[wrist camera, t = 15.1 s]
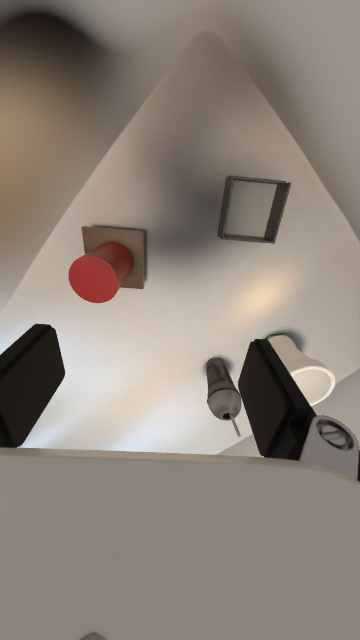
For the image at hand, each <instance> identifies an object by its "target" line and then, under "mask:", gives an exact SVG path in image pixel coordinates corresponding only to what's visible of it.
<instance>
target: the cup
mask: <svg viewBox="0 0 360 640" xmlns="http://www.w3.org/2000/svg"><path fill="white" fill-rule="evenodd" d="M267 340H268V341H269V342H270V343H271V345H272V347H273V348H274V350H275V351H276V353H277V354H278V356H279V357H280V359H281V361H282V362H283V364H284V365H285V367H286V368H287V370H288V371H289V373H290V374H291V376H292V378H293V379H294V381H295V382H296V384H297V385H298V387H299V388H300V390H301V392H302V393H303V395H304V396H305V398H306V399H307V401H308V402H309V404H310V406H312V405H315V404H317V403H319V402H321V401H322V400H324V399H325V398H326V397H328V395H329V394H330V393H331V392H332V390H333V388H334V386H335V376H334V374H333V373H332V372H331V371H330V370H329V369H328V368H327V367H326V366H325V365H324V364H323V363H321V362H319V361H318V360H314V359H311V358H309V357H307V356H306V355H304V354H303V353H302V352H301V351H299V350H298V349H297V348H296V345H295V343H294V342H293V341H292V340H291V339H290V338H289V337H288V336H286V335H284V334H283V335H279V336H269V337H268V339H267Z"/></svg>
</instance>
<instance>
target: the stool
mask: <svg viewBox="0 0 360 640" xmlns="http://www.w3.org/2000/svg"><path fill="white" fill-rule="evenodd" d="M82 234H83V241H84V249H85V254H87V253H89V252H90V251H92V250H94V249H95V248H97V247H99V246H100V245H102V244H104V243H106V242H117V243H120V244H122V245H124V246H125V247H126V248H127V249H128V250H129V252H130V253H131V256H132V259H133V266H132V269H131V271H130V273H129V274H128V276H127V277H126V279H125V280H124V282H123V284H122V285H121V287H122V288H137V289H143V288H144V231H137V230H125V229H113V228H101V227H89V226H84V227H82Z"/></svg>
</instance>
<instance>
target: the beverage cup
mask: <svg viewBox="0 0 360 640" xmlns="http://www.w3.org/2000/svg"><path fill="white" fill-rule="evenodd" d="M207 380H208V399H207V403H208V406H209V408H210V410H211V412H212V413H213V415H214V416H216V417H217V418H219V419H221V420H232V422H233V425H234V427H235V430H236V432H237V435H238V437H240V436H241V435H240V433H239V430H238V428H237V425H236V423H235V420H234V418H235V417H236V416H237V415H238V414H239V412H240V410H241V395H240V394H239V392H238V391H237V389H236V387H235V386H234V384H233V381H232V379H231V377H230V375H229V372H228V370H227V368H226V366H225V364H224V362H223V360H222V359H220V358H212V359H210V360H209V361H208V362H207Z"/></svg>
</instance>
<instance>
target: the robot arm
mask: <svg viewBox="0 0 360 640" xmlns="http://www.w3.org/2000/svg"><path fill="white" fill-rule="evenodd" d="M64 376H65V369H64V365H63V360H62V356H61V352H60V347H59V343H58V338H57V334H56V330H55V329H54V328H52V327H51V325H47V324H35V325H33V326H32V327H31V328H30V329H29V330H28V331H27V332H26V333H24V334H23V335H22V336H21V337H20V338H19V339H18V340H17V341H15V342H14V343H13V344H12V345H11V346H10V347H9V348H8V349H6V350H5V351H4V352H3V353H2V354H1V355H0V640H360V450H359V443H358V441H357V439H356V437H355V435H354V434H353V433H352V432H351V430H350V429H349V428H347V427H346V426H345V425H344V424H342V423H341V422H339V421H338V420H336V419H334V418H331V417H328V416H324V415H321V416H317V415H316V414H315V412H314V410H313V409H312V407H311V406H310V404H309V402H308V401H307V399H306V398H305V396H304V395H303V393H302V392H301V390H300V388H299V387H298V385H297V384H296V382H295V381H294V379H293V378H292V376H291V374H290V373H289V371H288V370H287V368H286V367H285V365H284V364H283V362H282V361H281V359H280V357H279V356H278V354H277V353H276V351H275V350H274V348H273V347H272V345H271V343H270V342H269V341H268V340H265V339H255V340H254V342H251V343H250V345H249V349H248V352H247V355H246V358H245V361H244V365H243V368H242V371H241V374H240V378H239V381H238V388H239V391H240V394H241V397H242V401H243V404H244V407H245V410H246V413H247V416H248V419H249V422H250V425H251V428H252V431H253V434H254V438H255V441H256V444H257V447H258V450H259V453H260V454H261V455H262V456H264V458H262V457H261V458H260V457H245V456H226V455H225V456H224V455H203V454H180V453H154V452H128V451H101V450H71V449H40V448H17V447H19V446H21V445H22V444H23V443H24V441H25V440H26V438H27V436H28V435H29V433H30V432H31V430H32V428H33V427H34V425H35V424H36V422H37V420H38V419H39V417H40V416H41V414H42V412H43V411H44V409H45V408H46V406H47V404H48V403H49V401H50V400H51V398H52V396H53V395H54V393H55V392H56V390H57V388H58V387H59V385H60V384H61V382H62V380H63V379H64Z"/></svg>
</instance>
